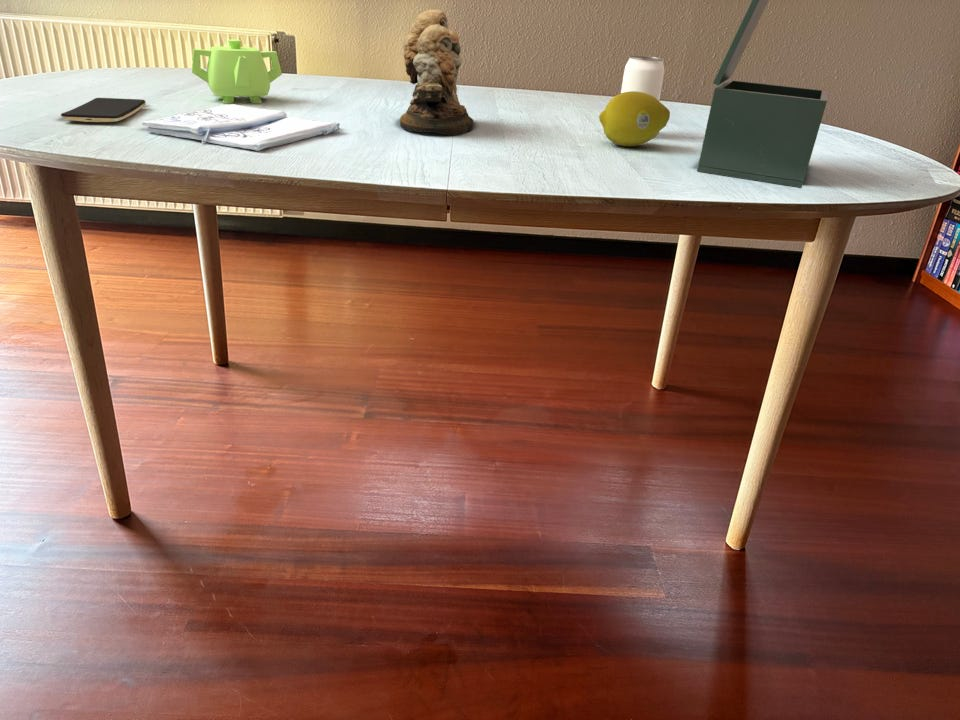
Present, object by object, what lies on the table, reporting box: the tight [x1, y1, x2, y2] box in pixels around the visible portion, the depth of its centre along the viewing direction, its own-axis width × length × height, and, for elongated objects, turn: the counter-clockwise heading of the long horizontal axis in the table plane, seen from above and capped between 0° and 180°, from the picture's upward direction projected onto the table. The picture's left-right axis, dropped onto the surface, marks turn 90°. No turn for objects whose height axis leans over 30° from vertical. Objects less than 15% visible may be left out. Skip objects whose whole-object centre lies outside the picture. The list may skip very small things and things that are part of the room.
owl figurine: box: [399, 8, 474, 136], centre depth 107 cm, size 18×12×17 cm, turn 178°
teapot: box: [191, 38, 283, 104], centre depth 119 cm, size 12×12×10 cm
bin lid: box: [712, 0, 770, 86], centre depth 91 cm, size 14×14×5 cm
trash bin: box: [696, 79, 829, 188], centre depth 95 cm, size 14×14×11 cm
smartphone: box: [60, 97, 147, 123], centre depth 102 cm, size 7×1×15 cm
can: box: [620, 55, 665, 102], centre depth 114 cm, size 6×6×12 cm
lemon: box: [598, 91, 671, 147], centre depth 105 cm, size 11×8×8 cm
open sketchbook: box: [141, 103, 341, 152], centre depth 97 cm, size 19×20×2 cm
